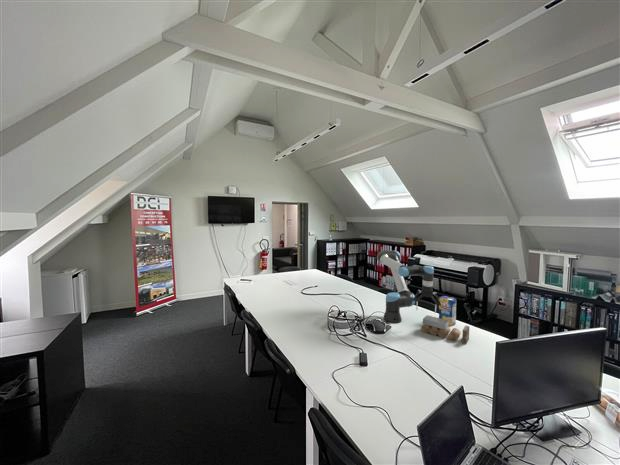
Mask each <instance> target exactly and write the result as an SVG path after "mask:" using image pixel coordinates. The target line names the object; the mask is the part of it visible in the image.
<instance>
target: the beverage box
mask: <svg viewBox="0 0 620 465" xmlns="http://www.w3.org/2000/svg"><path fill="white" fill-rule="evenodd" d="M438 298H439V301H440V303H441V305H438V318H441V319H445V320H449V326H450V327H453V326H455V325H456V324H457V323H456V321H457V320H456V319H457V298H456V297H450V296H446V295H442V296H438ZM449 326H448V327H449Z"/></svg>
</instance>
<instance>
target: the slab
mask: <svg viewBox="0 0 620 465" xmlns="http://www.w3.org/2000/svg"><path fill="white" fill-rule="evenodd" d="M422 324H423V325H424V324H426V325H429V326H433V327H437V328H440V329H444V330H445V329H446V328H447V327H449V320H445V319H441V318H439V317H436V316H432V315H425V316H424V317H423V318H422Z"/></svg>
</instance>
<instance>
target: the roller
mask: <svg viewBox="0 0 620 465" xmlns="http://www.w3.org/2000/svg"><path fill="white" fill-rule="evenodd" d="M461 334H462V331H461V330H460V329H459V328H457V327H454V328H452V330H450V332H449V333H448V335H447V337H448V338H449V339H448V340H450V341H451V342H452V341H453V342H457V340H458V339H459V338H460V336H461Z"/></svg>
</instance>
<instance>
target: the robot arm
mask: <svg viewBox="0 0 620 465" xmlns="http://www.w3.org/2000/svg"><path fill="white" fill-rule="evenodd" d="M376 260H377V262H378V263H379V264H381V265H383V266H384V265H385V266H387V267H388V268H390V271H391V274H392V277H393V281H394V283H395V286H396V290H397V292H388V293H386V296H385V311H384V314H383V320H384V321H385V322H387V323H390V324H400V323H402V320H403V319H402V318H403V317H402V316H401V312H400V309H401V308H410V307H413V306H416V307H415V310H416V311H418V303H419V300H421V299H422V298H423V297H424V298H430V299H431V300H432V302H434V303H435V304H434V306H435V307H434V314H437V310H439V305H441V303H440V301H439V296H438V293H437V292H436V291H435V292H434V291H433V287H434V273H435V271H434V270H435V268H434V267H433V266H432V265H423V266H421V265H419V264H418V265H417V264H414V265H411V266H407V265H406V264H405V265H404V264H402V263H401V260H402V256H401V254H400V252H399V251H397V250H381V251H379V252H378V254H377V256H376ZM411 276H420V277H422V286H421V287H422V288H421V290H420V289H418V290H417V292H416V294H414V293H413V292H411V290H410V289H408V287H407V286H408V285H407V283H406V281H405V277H411ZM419 294H421V295H419ZM433 295H434V296H433ZM434 297H435V298H434Z"/></svg>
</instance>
